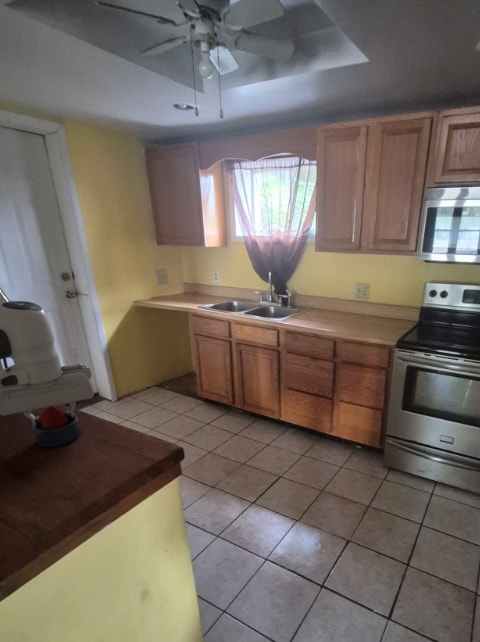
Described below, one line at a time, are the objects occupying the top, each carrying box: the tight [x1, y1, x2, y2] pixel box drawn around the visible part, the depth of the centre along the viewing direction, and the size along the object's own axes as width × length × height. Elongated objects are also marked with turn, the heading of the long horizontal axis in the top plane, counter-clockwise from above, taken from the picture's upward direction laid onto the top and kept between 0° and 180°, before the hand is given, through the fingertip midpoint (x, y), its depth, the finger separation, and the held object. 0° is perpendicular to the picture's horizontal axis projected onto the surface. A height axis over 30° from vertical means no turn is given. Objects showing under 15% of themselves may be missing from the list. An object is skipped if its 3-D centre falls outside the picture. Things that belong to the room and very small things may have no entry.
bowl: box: [31, 412, 82, 448], centre depth 95 cm, size 10×10×5 cm
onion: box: [39, 406, 68, 430], centre depth 94 cm, size 6×6×8 cm
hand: (54, 420), depth 94 cm, fingers closed on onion, 6 cm apart
